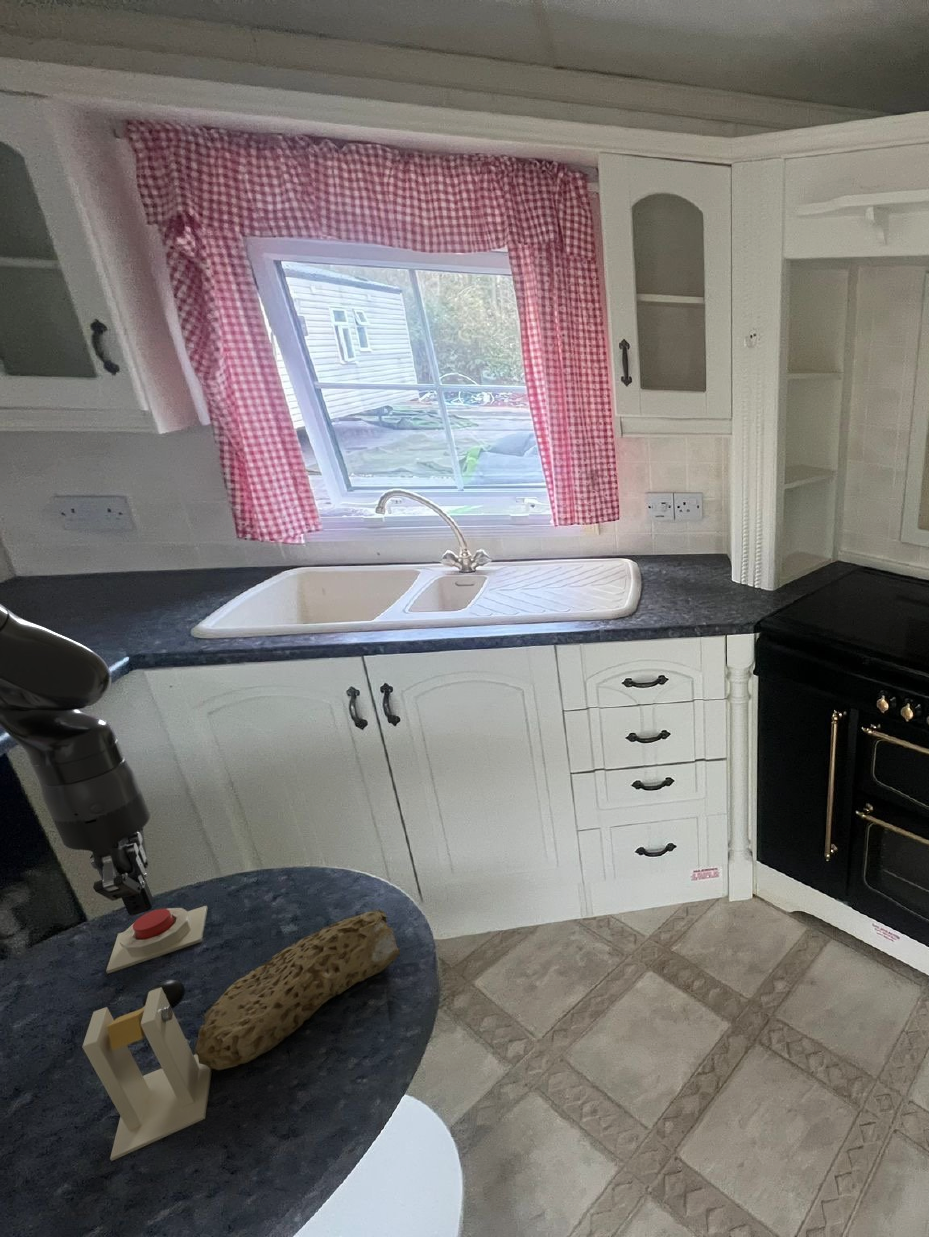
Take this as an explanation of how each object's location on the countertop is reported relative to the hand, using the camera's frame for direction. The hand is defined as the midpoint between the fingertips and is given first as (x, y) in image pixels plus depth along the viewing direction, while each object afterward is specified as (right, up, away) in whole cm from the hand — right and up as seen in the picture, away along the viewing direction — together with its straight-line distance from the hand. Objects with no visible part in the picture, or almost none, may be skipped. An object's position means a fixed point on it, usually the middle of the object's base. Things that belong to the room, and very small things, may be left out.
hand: (142, 909), depth 86 cm
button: (0, -3, +2) cm, 4 cm away
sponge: (+26, -10, -4) cm, 28 cm away
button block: (0, -6, +3) cm, 6 cm away
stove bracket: (+19, -14, -16) cm, 29 cm away
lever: (+18, -6, -16) cm, 24 cm away
